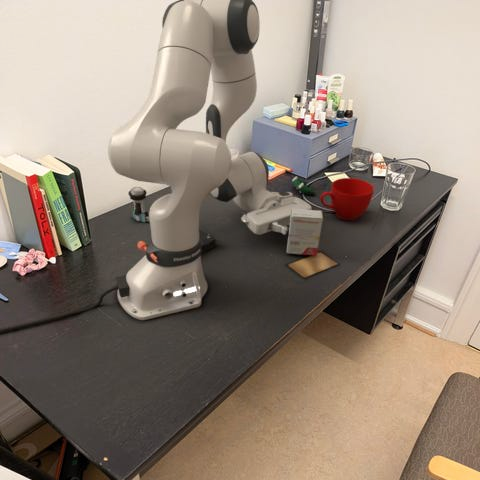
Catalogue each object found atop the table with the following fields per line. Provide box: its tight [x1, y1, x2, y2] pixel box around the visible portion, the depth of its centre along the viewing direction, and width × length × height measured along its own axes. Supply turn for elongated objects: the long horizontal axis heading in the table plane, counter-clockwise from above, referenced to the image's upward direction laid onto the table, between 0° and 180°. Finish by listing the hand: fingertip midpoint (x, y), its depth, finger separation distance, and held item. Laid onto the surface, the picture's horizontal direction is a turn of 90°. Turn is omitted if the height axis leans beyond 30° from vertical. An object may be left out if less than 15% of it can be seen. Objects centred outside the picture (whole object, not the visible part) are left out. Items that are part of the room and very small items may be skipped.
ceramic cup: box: [319, 177, 375, 221], centre depth 141 cm, size 13×17×10 cm
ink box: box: [286, 208, 324, 256], centre depth 122 cm, size 9×5×12 cm, turn 84°
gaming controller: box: [291, 176, 315, 196], centre depth 157 cm, size 9×4×6 cm
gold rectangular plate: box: [287, 251, 338, 279], centre depth 123 cm, size 12×7×1 cm, turn 124°
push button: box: [128, 186, 150, 223], centre depth 136 cm, size 7×5×10 cm
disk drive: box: [199, 228, 217, 253], centre depth 129 cm, size 10×3×15 cm
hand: (296, 228), depth 123 cm, fingers closed on ink box, 5 cm apart
